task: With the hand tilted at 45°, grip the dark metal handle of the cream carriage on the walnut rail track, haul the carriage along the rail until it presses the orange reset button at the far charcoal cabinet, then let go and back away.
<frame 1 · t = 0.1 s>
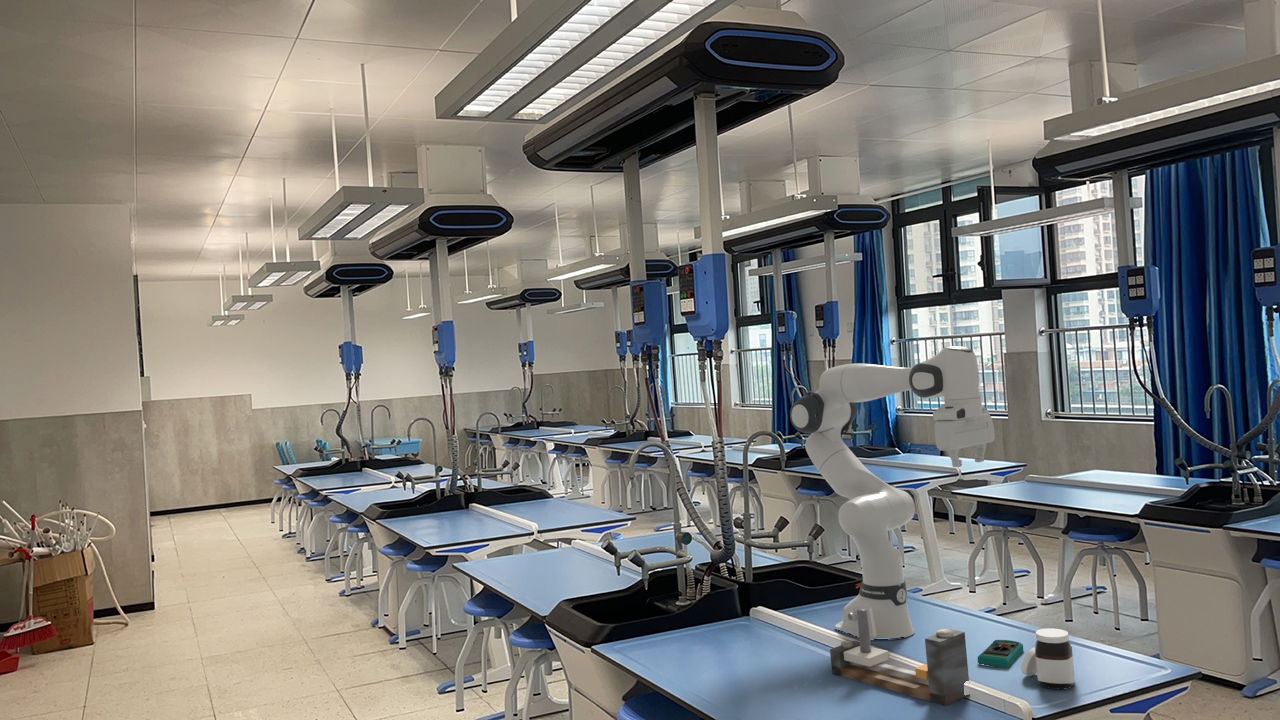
hand: (968, 464, 235), 48 cm above the table, tool pointing down, fingers open, 8 cm apart
digital multimeter: (1001, 660, 231), on the table
reset button: (927, 671, 213), point 5 cm above the table, slide at 0.0 cm
carriage: (864, 634, 227), point 10 cm above the table, slide at 0.0 cm
spread jar: (1048, 682, 213), on the table
rail track: (897, 683, 220), on the table
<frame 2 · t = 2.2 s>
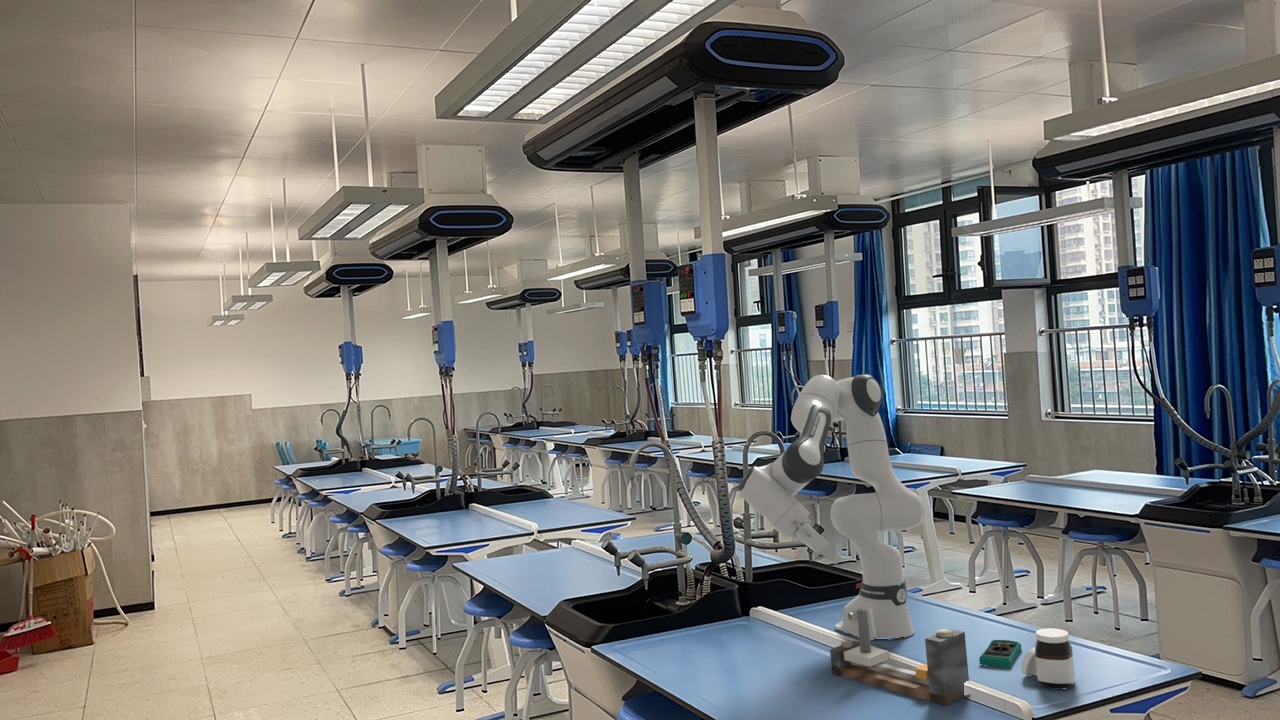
hand: (835, 560, 228), 28 cm above the table, tool tilted 45°, fingers open, 8 cm apart
nothing on the table moved.
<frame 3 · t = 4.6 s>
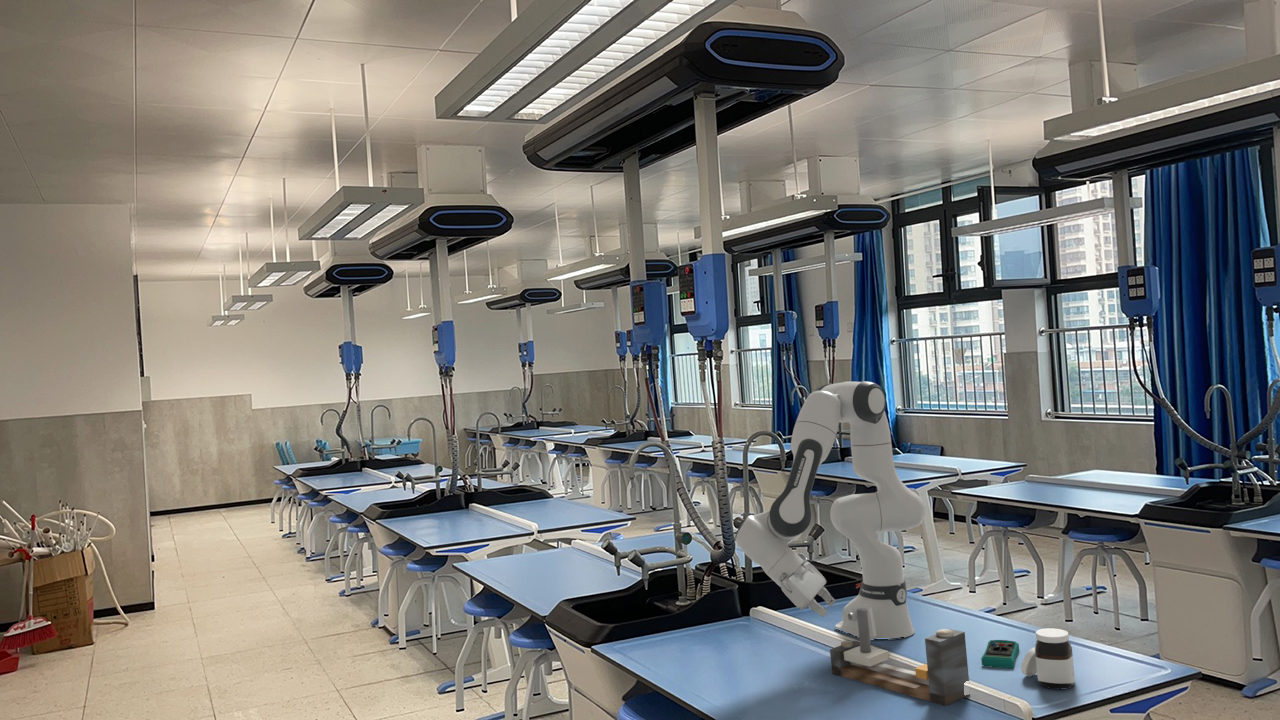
hand: (829, 609, 230), 16 cm above the table, tool tilted 45°, fingers open, 8 cm apart
nothing on the table moved.
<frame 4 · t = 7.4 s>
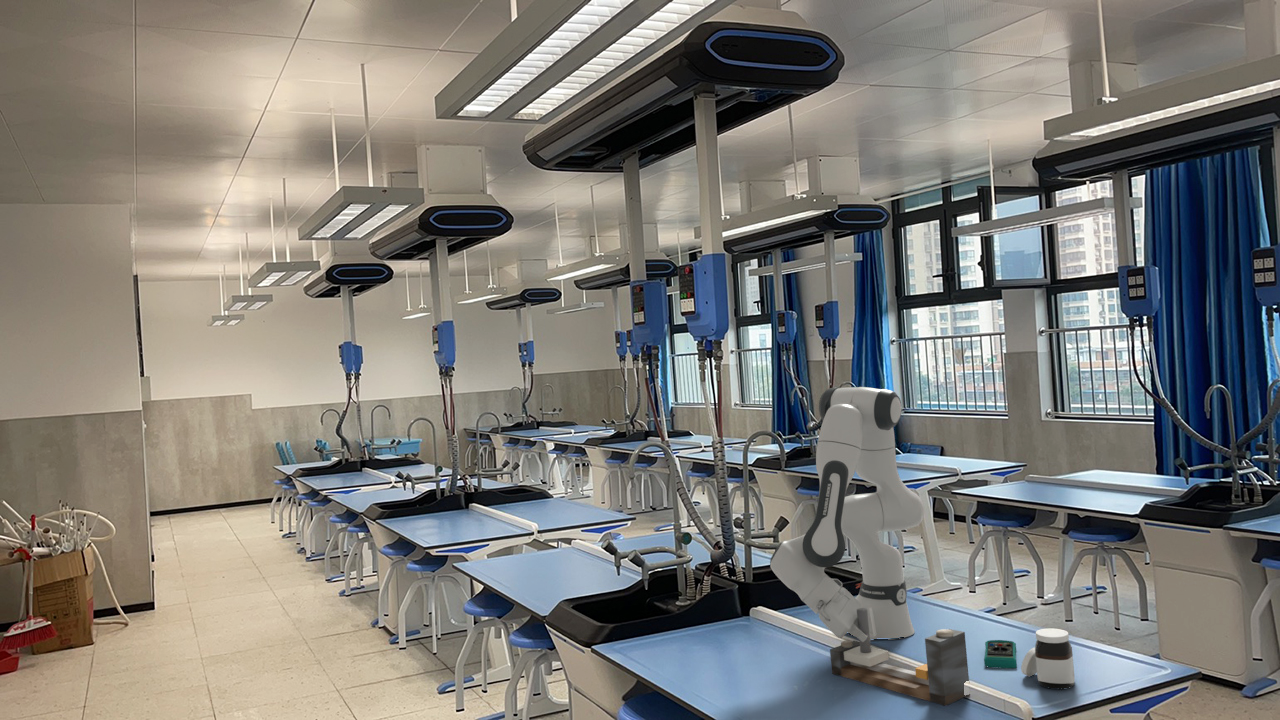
hand: (867, 636, 227), 9 cm above the table, tool tilted 45°, fingers closed on carriage, 3 cm apart
carriage: (864, 634, 227), point 10 cm above the table, slide at 0.0 cm, touching gripper
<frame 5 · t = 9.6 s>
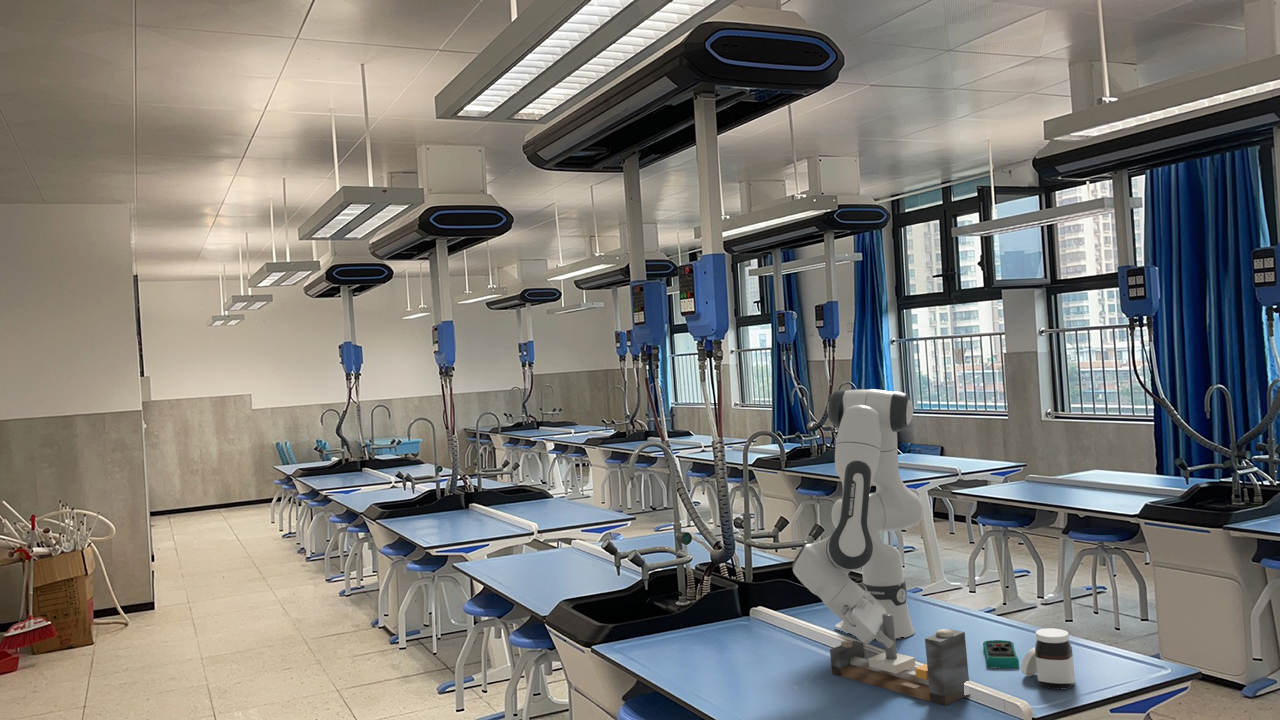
hand: (893, 642, 221), 9 cm above the table, tool tilted 45°, fingers closed on carriage, 3 cm apart
carriage: (889, 640, 221), point 10 cm above the table, slide at 7.8 cm, touching gripper
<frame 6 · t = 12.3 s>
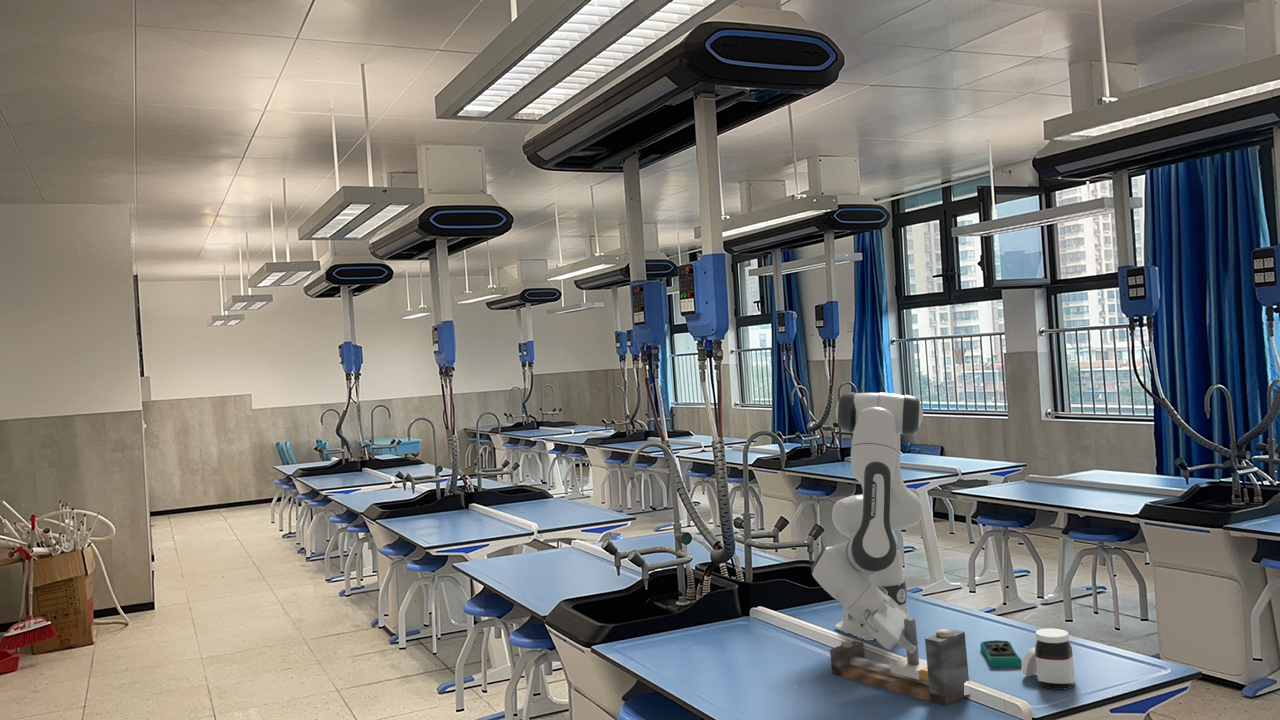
hand: (915, 648, 216), 9 cm above the table, tool tilted 45°, fingers closed on carriage, 2 cm apart
reset button: (933, 672, 211), point 5 cm above the table, slide at 1.6 cm, touching carriage
carriage: (911, 645, 216), point 10 cm above the table, slide at 14.1 cm, touching gripper, reset button
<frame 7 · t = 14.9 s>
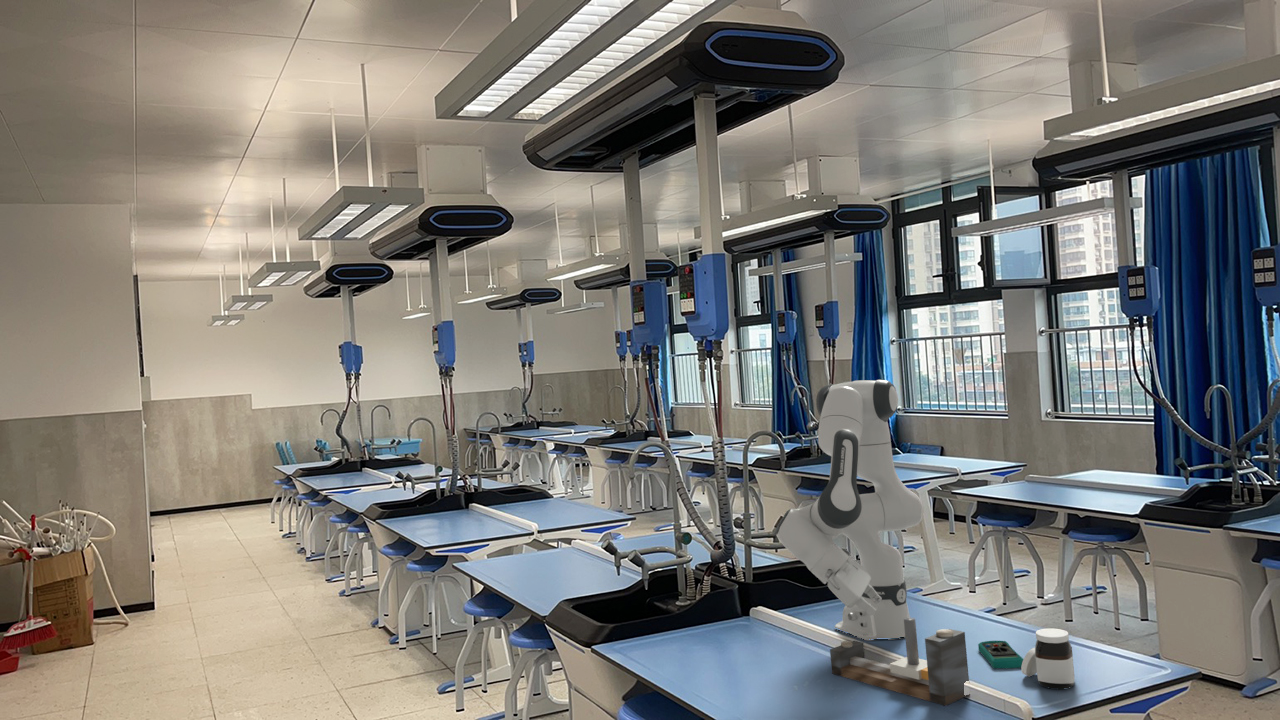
hand: (877, 607, 219), 19 cm above the table, tool tilted 45°, fingers open, 8 cm apart
reset button: (933, 672, 211), point 5 cm above the table, slide at 1.6 cm
carriage: (911, 645, 216), point 10 cm above the table, slide at 14.1 cm
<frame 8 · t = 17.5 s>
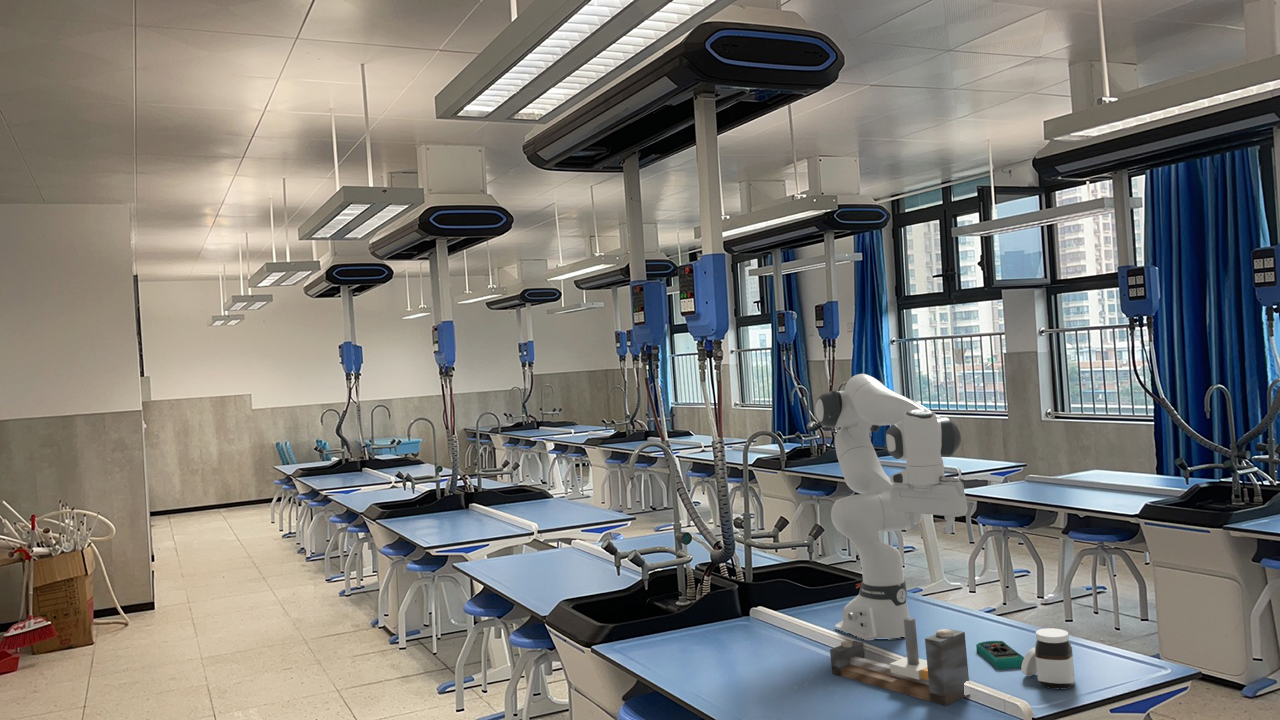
hand: (930, 532, 229), 33 cm above the table, tool pointing down, fingers open, 8 cm apart
at the end: carriage slide at 14.1 cm; reset button slide at 1.6 cm; the gripper is holding nothing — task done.
